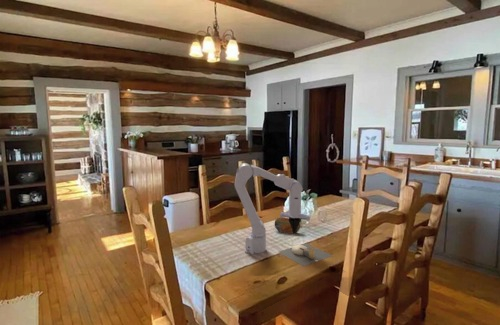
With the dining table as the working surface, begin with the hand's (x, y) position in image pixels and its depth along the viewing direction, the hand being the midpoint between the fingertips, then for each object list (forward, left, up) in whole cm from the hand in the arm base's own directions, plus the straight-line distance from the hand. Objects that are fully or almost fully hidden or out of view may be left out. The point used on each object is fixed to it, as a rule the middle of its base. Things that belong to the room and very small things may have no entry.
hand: (294, 232), depth 147 cm
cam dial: (-2, -8, -8) cm, 11 cm away
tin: (+14, +23, -10) cm, 29 cm away
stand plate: (-1, -8, -9) cm, 12 cm away
